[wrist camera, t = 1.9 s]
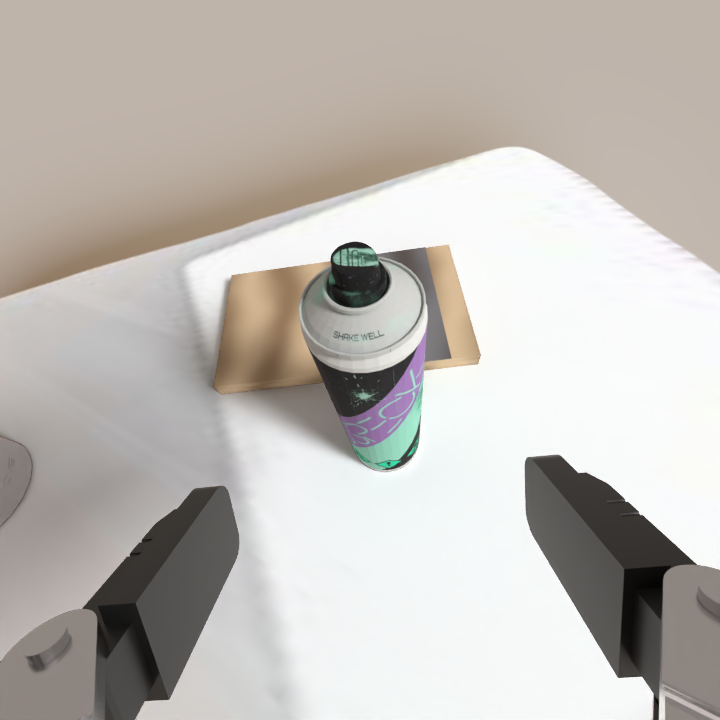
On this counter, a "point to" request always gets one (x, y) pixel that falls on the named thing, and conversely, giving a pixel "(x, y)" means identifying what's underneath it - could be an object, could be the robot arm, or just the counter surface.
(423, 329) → the spray can
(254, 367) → the plywood panel
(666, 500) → the counter surface
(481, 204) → the counter surface
